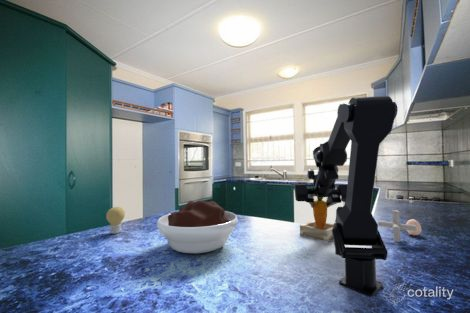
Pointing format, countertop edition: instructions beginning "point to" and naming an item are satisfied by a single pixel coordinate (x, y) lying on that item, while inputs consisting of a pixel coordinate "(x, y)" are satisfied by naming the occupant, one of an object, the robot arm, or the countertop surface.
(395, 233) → the pipe connector
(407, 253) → the countertop surface
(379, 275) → the countertop surface
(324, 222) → the carrot
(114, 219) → the light bulb
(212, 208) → the bowl of chocolate chunks
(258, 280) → the countertop surface
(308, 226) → the socket block
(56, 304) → the countertop surface
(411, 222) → the egg
